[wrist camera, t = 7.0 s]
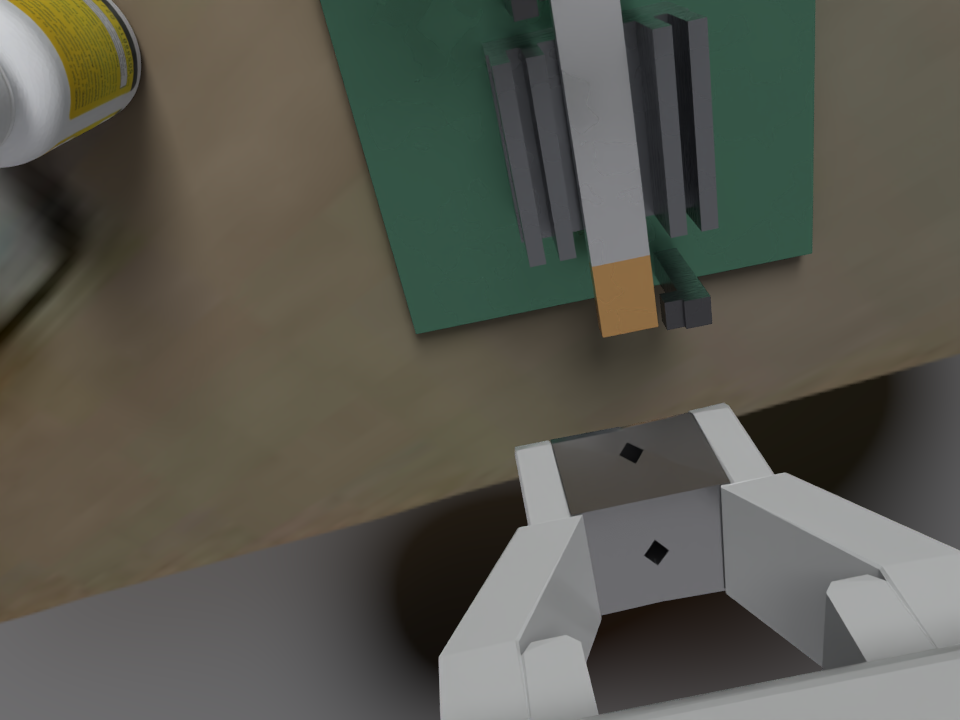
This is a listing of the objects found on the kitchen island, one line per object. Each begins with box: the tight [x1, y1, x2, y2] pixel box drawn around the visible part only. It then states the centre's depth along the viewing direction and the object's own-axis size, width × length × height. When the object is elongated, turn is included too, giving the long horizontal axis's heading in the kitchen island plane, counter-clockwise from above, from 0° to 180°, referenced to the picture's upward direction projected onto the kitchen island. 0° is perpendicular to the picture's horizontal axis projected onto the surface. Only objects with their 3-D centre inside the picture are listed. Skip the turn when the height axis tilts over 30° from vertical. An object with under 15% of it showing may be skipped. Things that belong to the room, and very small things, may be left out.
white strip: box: [540, 0, 658, 338], centre depth 27 cm, size 3×14×1 cm, turn 12°
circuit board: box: [320, 0, 815, 334], centre depth 28 cm, size 18×16×6 cm
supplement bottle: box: [0, 0, 141, 168], centre depth 25 cm, size 5×5×10 cm
